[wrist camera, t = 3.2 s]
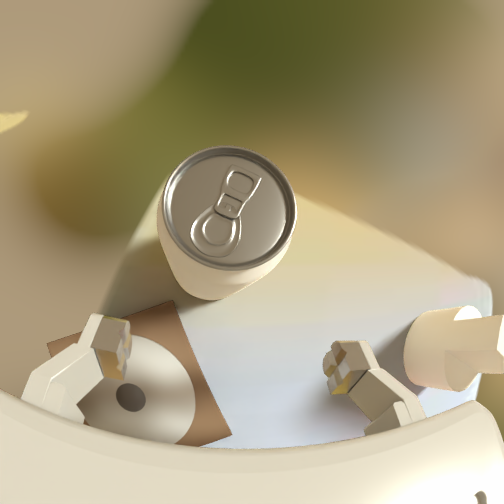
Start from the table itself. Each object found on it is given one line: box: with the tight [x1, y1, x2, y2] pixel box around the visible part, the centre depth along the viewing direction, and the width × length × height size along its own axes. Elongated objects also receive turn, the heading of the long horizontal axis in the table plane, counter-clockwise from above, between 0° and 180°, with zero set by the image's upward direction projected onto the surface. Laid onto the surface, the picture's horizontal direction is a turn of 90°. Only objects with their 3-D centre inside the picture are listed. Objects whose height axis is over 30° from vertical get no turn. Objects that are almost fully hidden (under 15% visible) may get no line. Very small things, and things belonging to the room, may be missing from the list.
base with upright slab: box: [403, 306, 504, 392], centre depth 19 cm, size 9×9×12 cm
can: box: [157, 145, 297, 300], centre depth 17 cm, size 6×6×12 cm
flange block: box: [47, 301, 232, 447], centre depth 17 cm, size 12×12×2 cm
